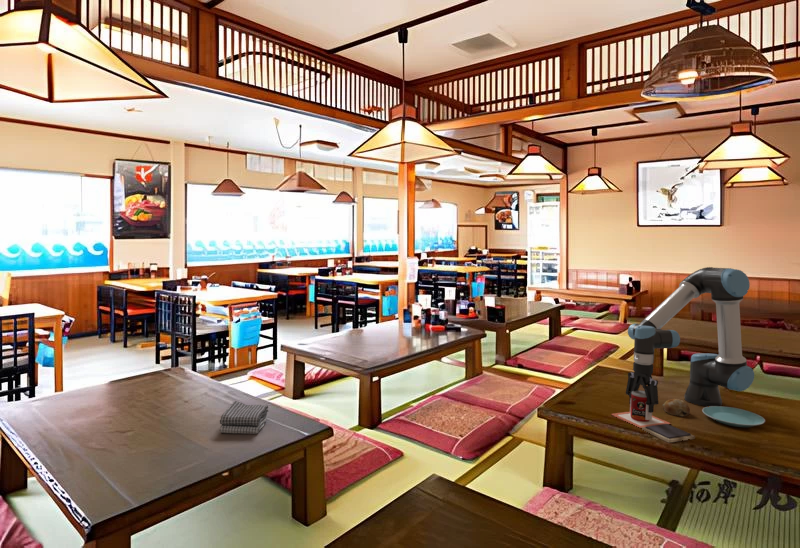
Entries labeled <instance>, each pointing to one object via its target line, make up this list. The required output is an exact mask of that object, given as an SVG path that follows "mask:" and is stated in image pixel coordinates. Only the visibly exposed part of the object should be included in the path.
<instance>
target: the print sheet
mask: <svg viewBox="0 0 800 548" xmlns="http://www.w3.org/2000/svg"><path fill="white" fill-rule="evenodd" d="M610 415H611V416H612V417H614V418H616V417H617V419H619V420H621V421H623V422H625V421H626V422H625V423H627V422H628V423H627V424H629V423H630V424H629V425H631V424H633V425H635V426H634V427H636V426H637V427H636V428H638V427H639V428H638V429H640V428H642V427H646V426H653V425H660V424H672V423H670V422H669V421H666V420H664V419H662V418H659V417H657V416H654V415H652V420H649V421H647V422H642V421H637V420H634V419H632V418H631V413H630V411H624V412H617V413H616V412H615V413H611V414H610ZM633 425H632V426H633Z"/></svg>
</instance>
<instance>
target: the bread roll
mask: <svg viewBox="0 0 800 548" xmlns="http://www.w3.org/2000/svg"><path fill="white" fill-rule="evenodd" d="M662 407H663V410H664V412H665V413H666V412H667V414H669V415H672V416H676V415H677V416H676V417H686V416H689V415H690V412H691V409H690V407H689V405H688V404H687V403H686V402H685V401H684V400H682V399H679V398H671V399H667V400H666V401H665V402H664V403H662Z"/></svg>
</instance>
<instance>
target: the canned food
mask: <svg viewBox="0 0 800 548" xmlns="http://www.w3.org/2000/svg"><path fill="white" fill-rule="evenodd" d="M646 404H648V402H647V396H646V394H645V390H639V389H638V391H632V394H631V418H632V419H634V420H637V421H642V422H647V421H649V420H645V416H646Z"/></svg>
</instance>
